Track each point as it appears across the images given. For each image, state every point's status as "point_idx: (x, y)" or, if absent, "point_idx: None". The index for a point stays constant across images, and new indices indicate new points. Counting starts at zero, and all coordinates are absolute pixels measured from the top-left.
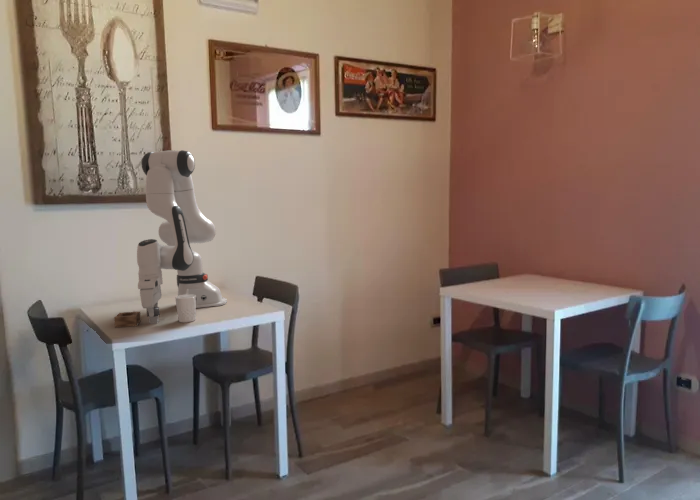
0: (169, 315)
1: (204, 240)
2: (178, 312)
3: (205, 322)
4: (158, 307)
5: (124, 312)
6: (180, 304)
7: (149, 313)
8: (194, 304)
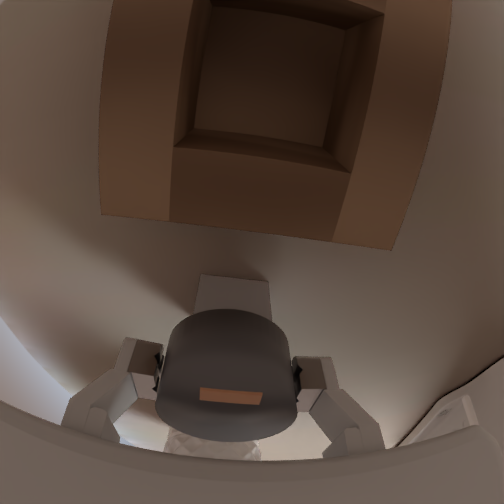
0: (390, 360)
1: None
2: (181, 451)
3: (157, 444)
4: (229, 440)
5: (446, 43)
6: None
7: (118, 363)
8: None
